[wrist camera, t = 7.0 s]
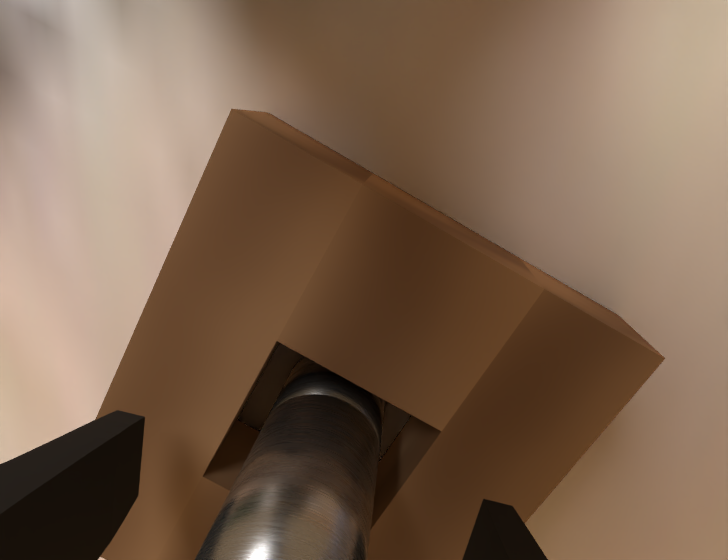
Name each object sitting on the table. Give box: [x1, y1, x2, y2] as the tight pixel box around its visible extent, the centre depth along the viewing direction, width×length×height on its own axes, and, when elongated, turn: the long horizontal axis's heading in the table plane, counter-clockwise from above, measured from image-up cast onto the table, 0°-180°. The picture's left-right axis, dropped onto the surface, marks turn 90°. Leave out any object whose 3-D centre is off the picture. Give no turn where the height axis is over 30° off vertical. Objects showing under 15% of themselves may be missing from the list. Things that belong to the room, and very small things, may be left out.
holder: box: [95, 109, 665, 560], centre depth 13 cm, size 10×12×2 cm
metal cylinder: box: [195, 356, 385, 560], centre depth 11 cm, size 3×3×8 cm
